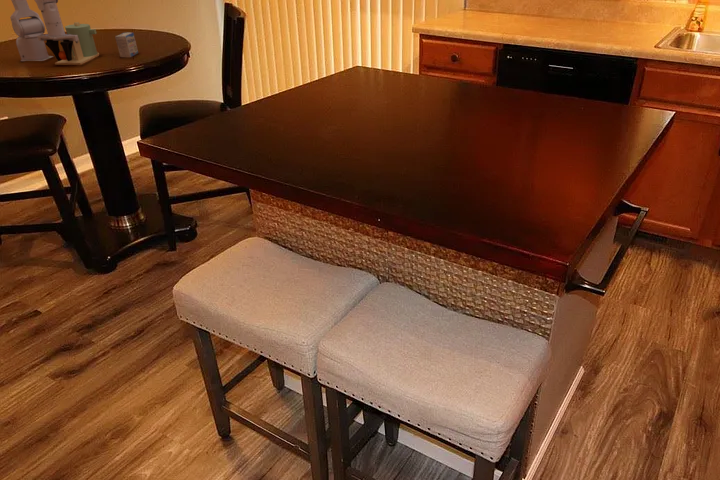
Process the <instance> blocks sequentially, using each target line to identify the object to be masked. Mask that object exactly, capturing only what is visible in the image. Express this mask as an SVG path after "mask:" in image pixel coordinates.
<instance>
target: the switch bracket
mask: <svg viewBox="0 0 720 480" xmlns="http://www.w3.org/2000/svg"><path fill="white" fill-rule="evenodd" d="M60 42H63V41H59V43H60ZM72 48H73V51H74V55H75V57H74V56H73V52H72V60H71V61H68V60H61V61H58V60H57V61H56V62H54V65H55V66H57V65H58V66H59V65H60V66H61V65H66V66H68V65H69V66H70V65H71V66H72V65H74V66H75V65H77V66H78V65H79V66H81V65H84V64H85V63H87V62H89V61H92V60H94V59H95V58H96V57H95V56H87V57H84V56H83V53H82V49H81V46H80V42H79V40H78V41H73V46H72Z"/></svg>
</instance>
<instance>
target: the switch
mask: <svg viewBox="0 0 720 480" xmlns="http://www.w3.org/2000/svg"><path fill="white" fill-rule="evenodd" d="M59 57H60V59H62V60H67V58H66V55H65V52H64V50H63V49H62V50H60V52H59Z"/></svg>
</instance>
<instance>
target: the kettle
mask: <svg viewBox="0 0 720 480" xmlns="http://www.w3.org/2000/svg"><path fill="white" fill-rule="evenodd" d="M64 30H65V33H66V34H71V35H78V39H79V42H80V46H81V49H82V53H83V56H84V57H87V56H95V58H97V57H99V56H100V53H99V52H98V50H97V47H96V43H95V39H94V36H93V35H97V34H98V31H97V29H96V28H94V29H93V28H91V24H89V23H80V21H76V22H73V23H72V24H68V25H65V26H64ZM72 52H73V56H74V57H75V55H74V51H73V48H72Z"/></svg>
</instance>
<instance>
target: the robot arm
mask: <svg viewBox="0 0 720 480" xmlns="http://www.w3.org/2000/svg"><path fill="white" fill-rule="evenodd" d="M10 1H11V3H12V6H13V8H14V11H13V12H12V14H11V15H10V21H11V27H12V30H13V32H14V33H15V35H16V36H18V37H17V38H16V39H15V45H16V48H17V51H18V55H19V57H20V62H44V61H47V60H49V59H51V58H54V57H55V59H56V60H57V62H58V61H61V60H62V59H60V57H59V52H60V51H61V50H60V46H61V48H62V51H63V50H64V52H65V55H66V58H67V60H68V61H71V60H72V46H73V41H78V40H79V39H78V35H71V34H67V33H66V30H65V27H64V25H63V21H62V18H61V14H60V11H59V8H58V4H57V3H58V2H59V0H34V2H35V4H36V5H37V9H38V10H39V11H40V12H41V16H40V14H39V13H38V12H37V11H35V10H33V9H31V8H30V5H29V3H28V0H10ZM41 17H42V19H43V20H42V19H41ZM45 32H47V33H45ZM45 41H46V42H45ZM60 41H63V42H60ZM47 48H48V49H49V50H50V51H51V53H52V54H53V55H54V56H53V55H49V53H48V50H47Z"/></svg>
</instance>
